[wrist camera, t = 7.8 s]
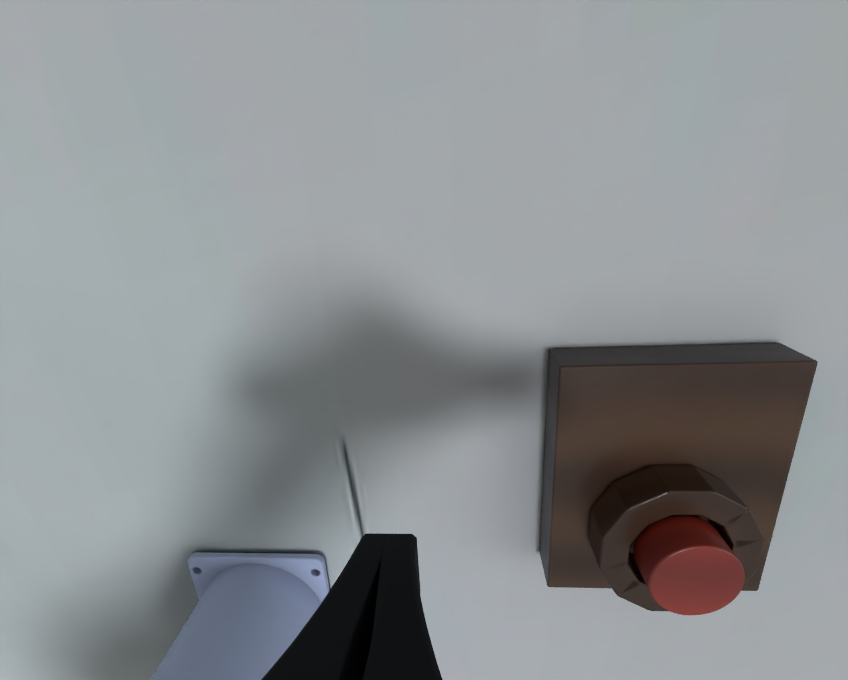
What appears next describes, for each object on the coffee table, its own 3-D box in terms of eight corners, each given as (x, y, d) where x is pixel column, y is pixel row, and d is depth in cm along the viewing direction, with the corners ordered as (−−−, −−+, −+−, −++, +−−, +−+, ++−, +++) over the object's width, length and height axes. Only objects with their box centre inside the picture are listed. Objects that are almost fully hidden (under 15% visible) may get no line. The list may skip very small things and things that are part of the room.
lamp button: (712, 580, 19) (736, 617, 18) (628, 579, 20) (644, 615, 18) (727, 514, 18) (754, 547, 17) (637, 514, 19) (655, 545, 17)
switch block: (731, 555, 23) (784, 627, 20) (539, 553, 24) (555, 621, 20) (780, 342, 19) (858, 380, 16) (548, 347, 20) (570, 385, 16)
